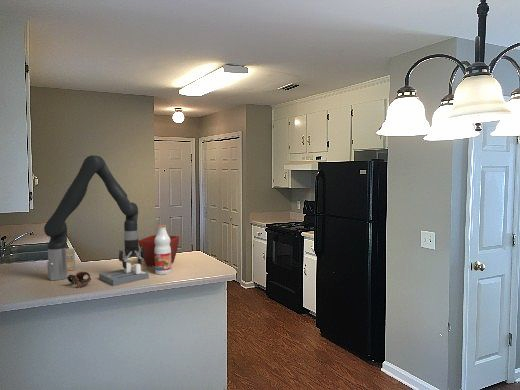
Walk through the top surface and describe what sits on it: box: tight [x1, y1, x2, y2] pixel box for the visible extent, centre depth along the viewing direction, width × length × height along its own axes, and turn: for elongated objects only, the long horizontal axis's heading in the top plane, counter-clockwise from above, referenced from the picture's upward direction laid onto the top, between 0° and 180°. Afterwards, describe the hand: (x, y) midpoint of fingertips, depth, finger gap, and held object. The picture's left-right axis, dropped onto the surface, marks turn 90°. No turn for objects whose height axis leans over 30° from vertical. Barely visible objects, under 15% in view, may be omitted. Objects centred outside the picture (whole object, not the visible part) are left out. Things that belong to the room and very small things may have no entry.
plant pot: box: [138, 234, 180, 268], centre depth 266 cm, size 19×19×17 cm
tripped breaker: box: [123, 262, 132, 273], centre depth 235 cm, size 2×3×5 cm
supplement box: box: [66, 247, 76, 272], centre depth 255 cm, size 8×5×13 cm, turn 105°
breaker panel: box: [98, 266, 150, 287], centre depth 234 cm, size 20×19×3 cm
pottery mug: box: [66, 271, 92, 289], centre depth 222 cm, size 12×10×8 cm
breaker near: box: [133, 263, 142, 274], centre depth 232 cm, size 2×3×5 cm
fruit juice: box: [154, 224, 173, 276], centre depth 245 cm, size 9×9×28 cm
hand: (132, 267), depth 237 cm, fingers open, 8 cm apart
